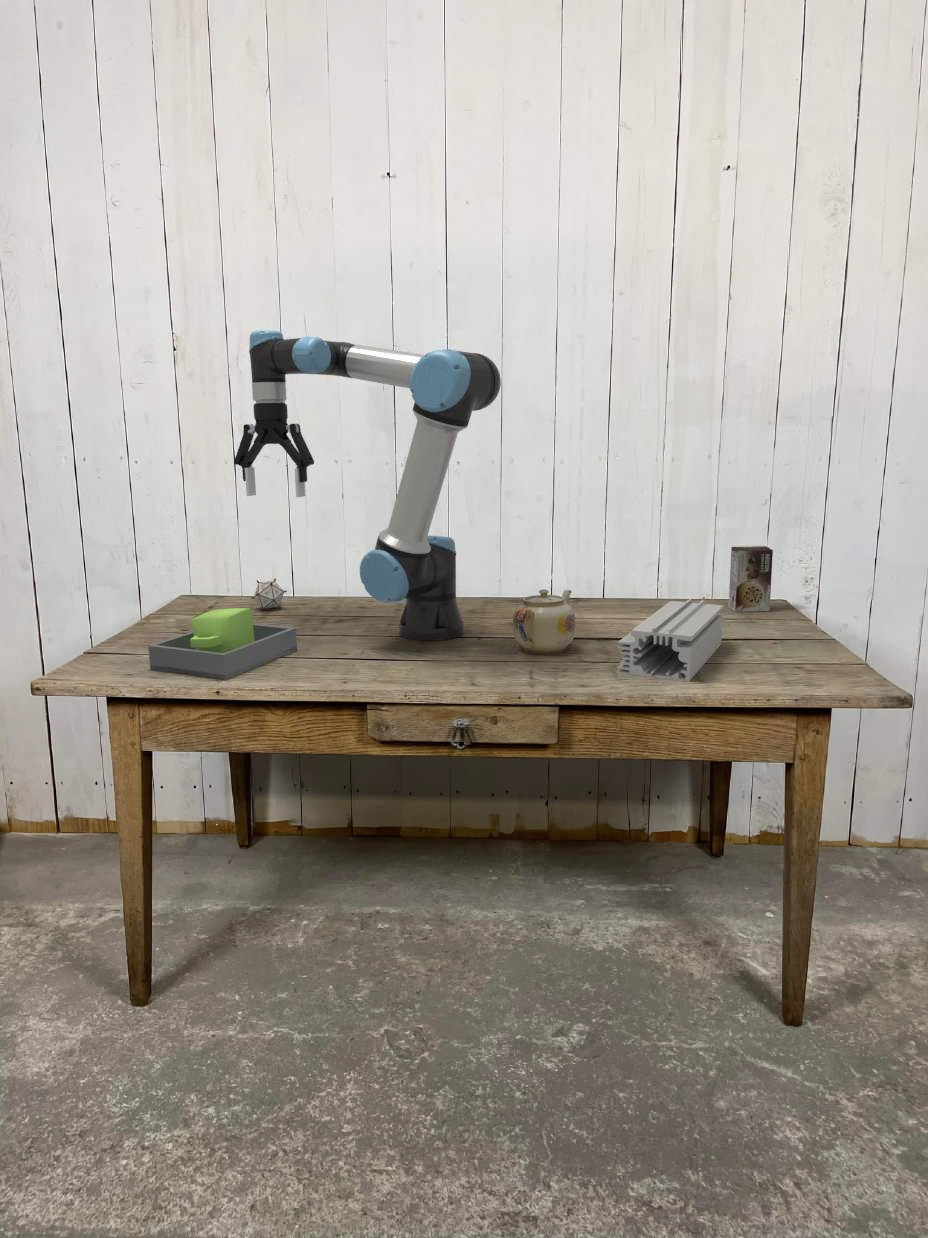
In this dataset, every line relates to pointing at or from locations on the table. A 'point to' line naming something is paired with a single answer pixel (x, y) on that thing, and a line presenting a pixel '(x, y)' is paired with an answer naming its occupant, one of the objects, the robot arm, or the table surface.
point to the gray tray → (222, 654)
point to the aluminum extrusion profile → (673, 641)
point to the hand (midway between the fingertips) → (275, 496)
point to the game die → (268, 594)
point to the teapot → (544, 623)
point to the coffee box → (750, 578)
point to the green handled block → (222, 630)
